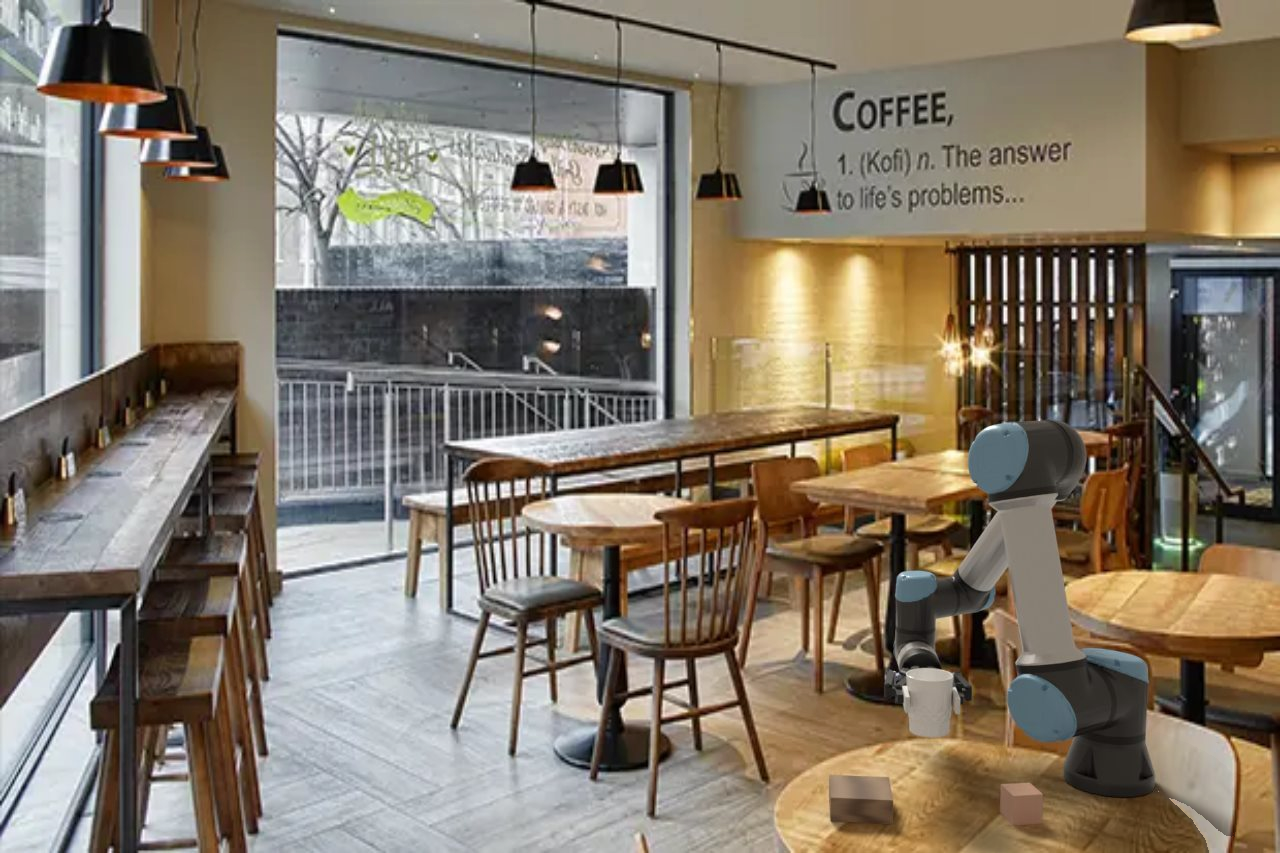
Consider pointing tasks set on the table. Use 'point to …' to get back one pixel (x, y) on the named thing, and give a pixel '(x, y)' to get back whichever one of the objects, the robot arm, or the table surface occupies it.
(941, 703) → the white cup
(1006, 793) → the terracotta cube
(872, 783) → the walnut block
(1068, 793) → the table surface
